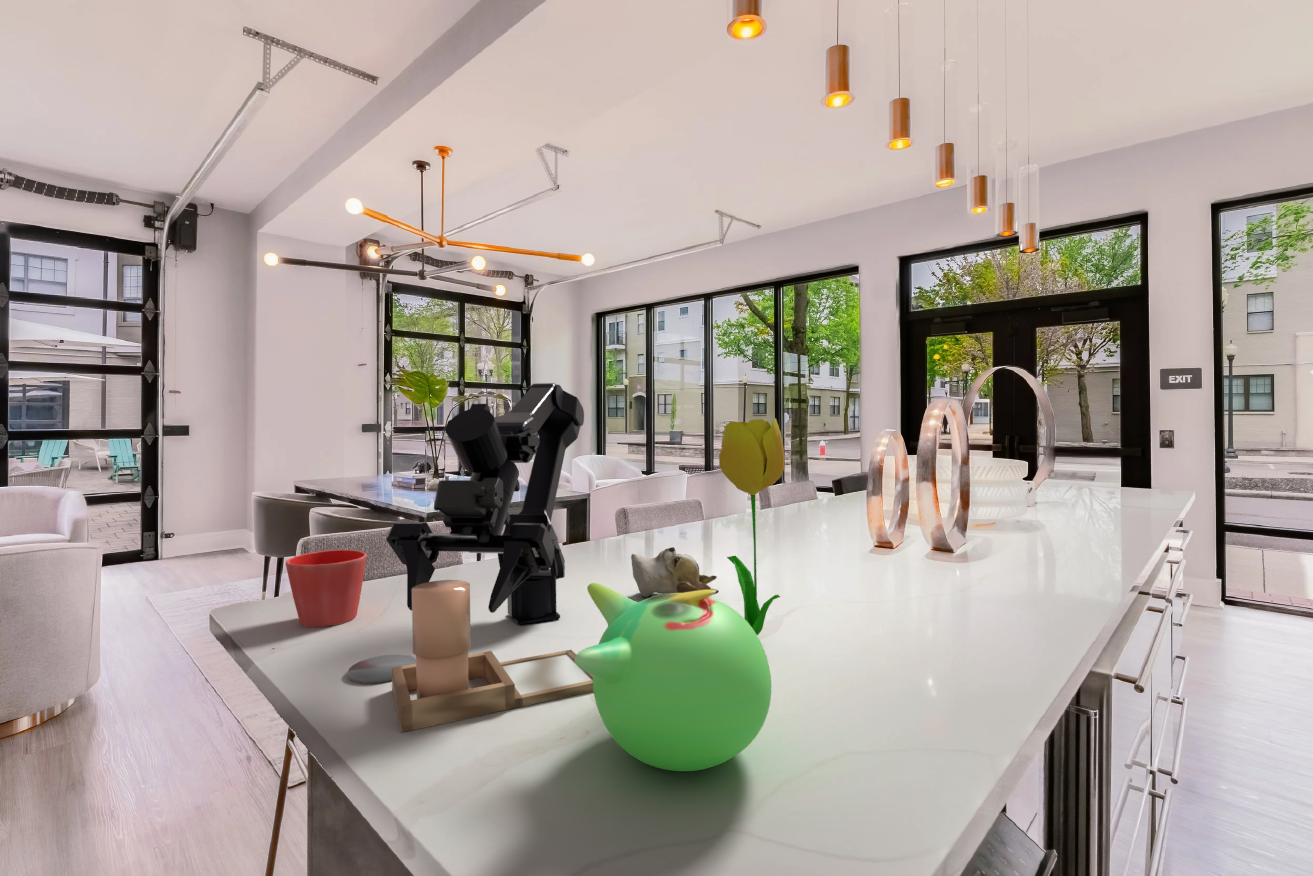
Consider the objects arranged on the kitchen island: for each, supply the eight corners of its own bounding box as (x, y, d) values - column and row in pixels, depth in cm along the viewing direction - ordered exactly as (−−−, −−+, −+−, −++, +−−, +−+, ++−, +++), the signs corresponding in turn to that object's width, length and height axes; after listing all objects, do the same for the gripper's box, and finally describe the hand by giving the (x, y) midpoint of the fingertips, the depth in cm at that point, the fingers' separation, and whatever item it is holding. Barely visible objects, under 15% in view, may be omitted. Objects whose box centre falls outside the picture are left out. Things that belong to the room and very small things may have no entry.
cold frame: (571, 656, 80) (570, 637, 80) (604, 688, 70) (603, 666, 70) (392, 689, 71) (391, 667, 71) (401, 732, 61) (401, 706, 61)
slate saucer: (413, 655, 81) (413, 650, 81) (420, 675, 75) (420, 670, 75) (347, 665, 78) (347, 661, 78) (348, 688, 71) (348, 683, 71)
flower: (792, 636, 87) (791, 417, 86) (778, 656, 80) (776, 417, 79) (732, 628, 91) (730, 418, 90) (713, 646, 83) (711, 418, 83)
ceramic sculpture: (634, 538, 114) (718, 543, 113) (632, 586, 114) (715, 592, 113) (628, 551, 103) (720, 557, 102) (625, 604, 103) (717, 610, 102)
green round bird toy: (797, 806, 49) (796, 616, 48) (575, 819, 47) (573, 624, 47) (745, 703, 66) (744, 564, 66) (584, 710, 65) (582, 568, 65)
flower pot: (336, 633, 90) (334, 565, 90) (270, 629, 93) (268, 562, 92) (382, 611, 101) (381, 550, 101) (322, 608, 103) (320, 548, 103)
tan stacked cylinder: (466, 688, 71) (464, 577, 71) (476, 709, 66) (474, 589, 65) (411, 699, 68) (408, 584, 68) (417, 721, 63) (415, 596, 63)
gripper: (393, 454, 75) (336, 567, 64) (546, 453, 73) (514, 570, 62) (426, 512, 83) (380, 621, 72) (565, 513, 81) (539, 626, 70)
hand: (450, 609), depth 69 cm, fingers open, 9 cm apart
